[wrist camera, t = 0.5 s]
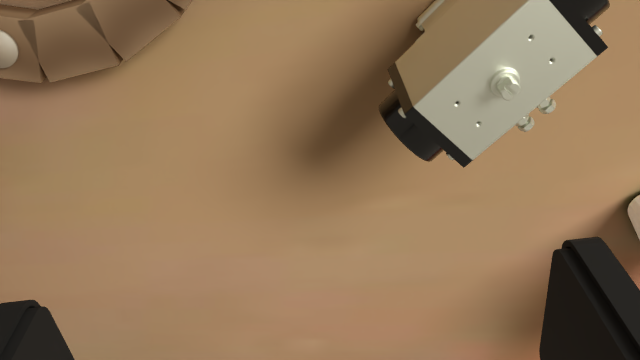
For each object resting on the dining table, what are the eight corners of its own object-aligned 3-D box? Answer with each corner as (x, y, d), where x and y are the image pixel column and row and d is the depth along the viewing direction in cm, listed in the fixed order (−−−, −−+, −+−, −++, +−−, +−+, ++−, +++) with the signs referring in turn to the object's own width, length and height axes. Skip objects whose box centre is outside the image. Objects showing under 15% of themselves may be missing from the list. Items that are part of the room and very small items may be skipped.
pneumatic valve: (362, 58, 38) (386, 145, 28) (501, -84, 34) (590, -42, 23) (417, 108, 40) (458, 205, 30) (555, -19, 36) (658, 45, 26)
